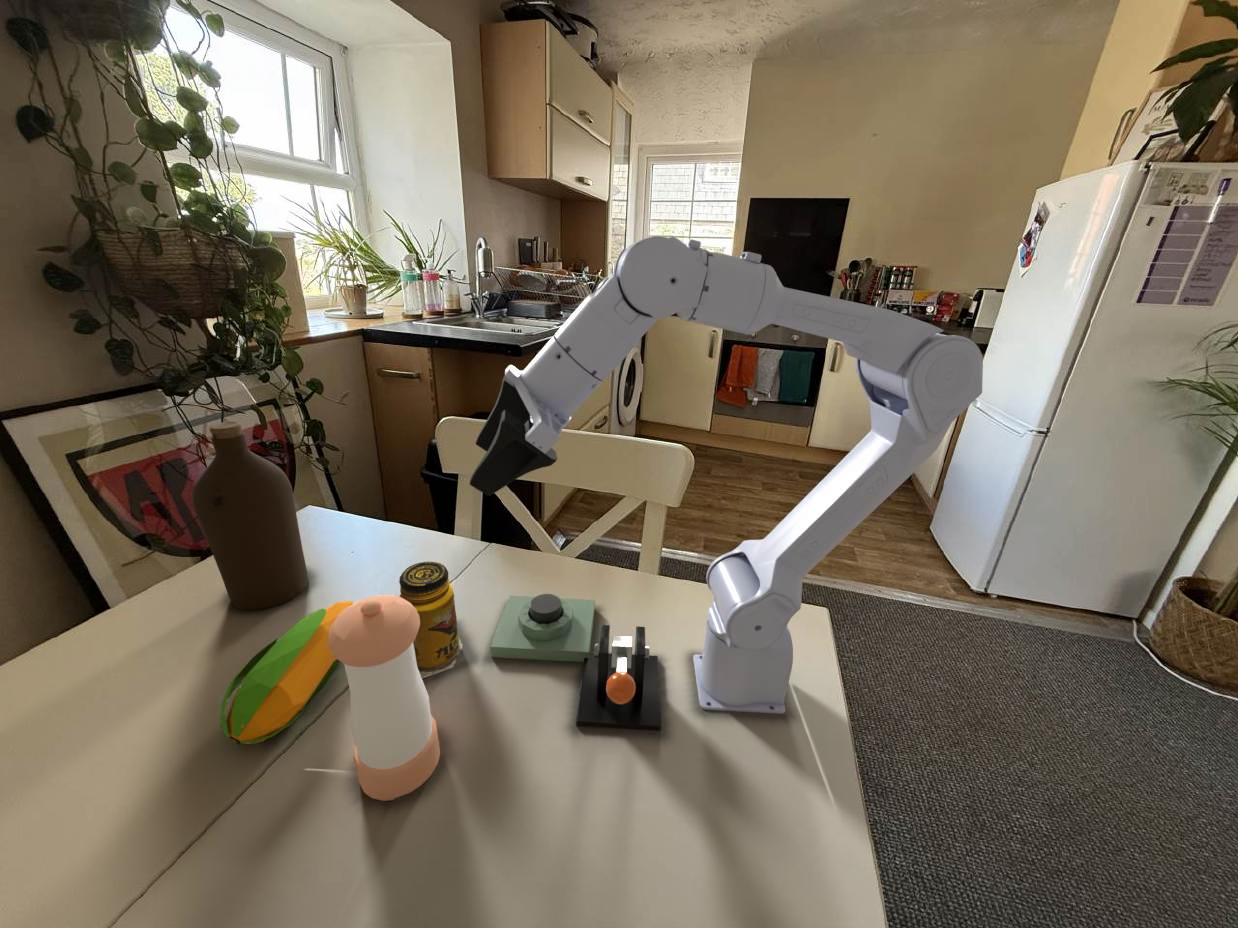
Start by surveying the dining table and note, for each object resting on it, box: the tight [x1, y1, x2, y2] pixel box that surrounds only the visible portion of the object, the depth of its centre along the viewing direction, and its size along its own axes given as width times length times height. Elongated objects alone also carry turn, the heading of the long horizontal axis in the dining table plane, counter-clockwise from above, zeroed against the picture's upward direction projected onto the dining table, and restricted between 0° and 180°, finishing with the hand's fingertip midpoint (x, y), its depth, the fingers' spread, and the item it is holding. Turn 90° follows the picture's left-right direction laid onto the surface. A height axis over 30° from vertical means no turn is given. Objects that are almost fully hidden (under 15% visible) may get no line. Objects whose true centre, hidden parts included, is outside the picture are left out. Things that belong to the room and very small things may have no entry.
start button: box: [530, 593, 562, 624], centre depth 64 cm, size 4×4×2 cm
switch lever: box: [606, 635, 636, 704], centre depth 51 cm, size 11×3×3 cm, turn 178°
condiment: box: [398, 561, 464, 679], centre depth 59 cm, size 7×8×12 cm
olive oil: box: [192, 421, 309, 611], centre depth 67 cm, size 11×11×25 cm
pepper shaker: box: [328, 594, 441, 802], centre depth 44 cm, size 7×7×19 cm
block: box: [489, 595, 596, 663], centre depth 65 cm, size 12×10×4 cm
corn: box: [219, 600, 354, 746], centre depth 55 cm, size 7×8×20 cm
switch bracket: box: [575, 624, 662, 732], centre depth 56 cm, size 10×9×8 cm
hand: (481, 467), depth 46 cm, fingers open, 7 cm apart
